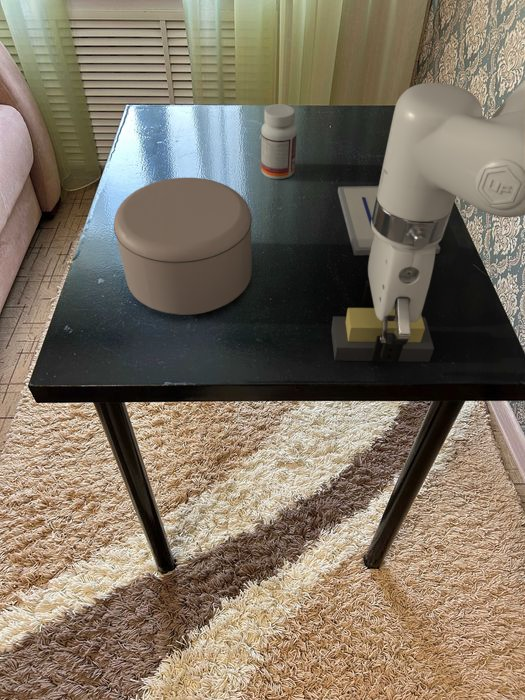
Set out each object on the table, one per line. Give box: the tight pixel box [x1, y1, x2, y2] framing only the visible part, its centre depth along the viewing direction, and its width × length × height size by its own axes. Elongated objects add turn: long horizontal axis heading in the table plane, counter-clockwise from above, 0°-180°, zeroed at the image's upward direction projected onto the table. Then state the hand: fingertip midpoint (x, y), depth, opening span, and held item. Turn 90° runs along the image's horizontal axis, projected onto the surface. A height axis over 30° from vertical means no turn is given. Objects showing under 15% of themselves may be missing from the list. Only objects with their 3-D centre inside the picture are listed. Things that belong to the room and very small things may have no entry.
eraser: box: [330, 307, 435, 363], centre depth 68 cm, size 12×6×5 cm, turn 90°
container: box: [113, 177, 253, 316], centre depth 74 cm, size 18×18×12 cm
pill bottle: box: [260, 103, 298, 180], centre depth 94 cm, size 6×6×11 cm
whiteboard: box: [337, 185, 441, 256], centre depth 88 cm, size 18×13×1 cm
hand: (378, 330), depth 68 cm, fingers open, 9 cm apart
